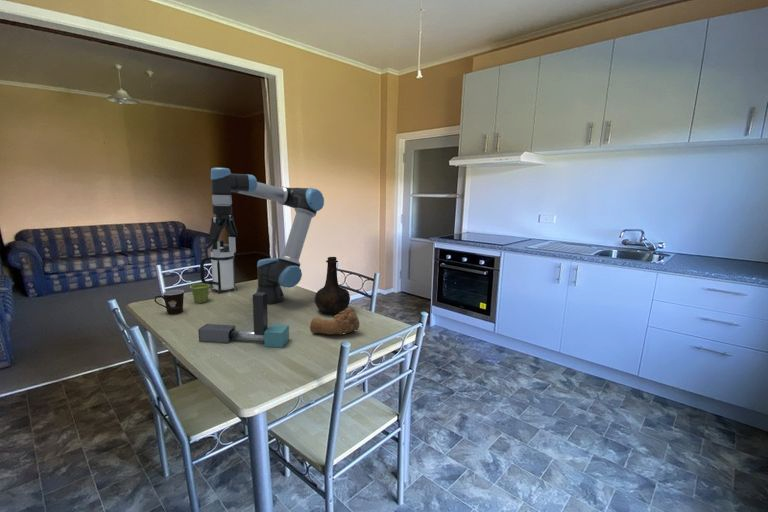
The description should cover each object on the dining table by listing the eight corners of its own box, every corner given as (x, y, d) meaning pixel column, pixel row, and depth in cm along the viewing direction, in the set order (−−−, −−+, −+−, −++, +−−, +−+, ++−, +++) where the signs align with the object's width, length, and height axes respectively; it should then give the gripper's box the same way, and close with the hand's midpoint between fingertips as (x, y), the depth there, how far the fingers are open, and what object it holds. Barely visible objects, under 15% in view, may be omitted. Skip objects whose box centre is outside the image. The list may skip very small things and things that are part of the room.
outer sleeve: (199, 341, 136) (198, 329, 136) (207, 335, 142) (206, 323, 141) (228, 343, 136) (227, 331, 135) (235, 336, 142) (235, 325, 141)
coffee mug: (189, 309, 170) (187, 290, 169) (177, 315, 162) (175, 295, 160) (167, 308, 171) (165, 289, 170) (154, 314, 163) (152, 294, 161)
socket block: (264, 346, 134) (264, 332, 133) (272, 337, 142) (272, 324, 141) (282, 347, 134) (281, 333, 133) (289, 338, 142) (288, 325, 140)
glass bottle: (344, 318, 166) (345, 262, 161) (309, 315, 169) (308, 259, 163) (353, 306, 183) (354, 255, 178) (321, 304, 186) (321, 253, 181)
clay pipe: (349, 349, 142) (364, 327, 154) (347, 329, 137) (362, 307, 149) (311, 339, 149) (328, 319, 161) (307, 320, 144) (325, 300, 156)
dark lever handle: (227, 339, 137) (224, 293, 133) (232, 335, 141) (229, 290, 137) (274, 342, 136) (272, 296, 132) (277, 338, 140) (276, 293, 136)
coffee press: (216, 286, 212) (213, 237, 206) (242, 287, 212) (240, 239, 206) (201, 294, 195) (197, 242, 189) (228, 295, 195) (226, 243, 189)
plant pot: (191, 299, 185) (190, 284, 184) (211, 298, 189) (210, 282, 188) (190, 305, 177) (189, 289, 175) (210, 303, 181) (209, 287, 179)
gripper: (228, 203, 159) (230, 248, 163) (196, 206, 135) (200, 259, 139) (244, 204, 159) (246, 249, 163) (214, 206, 134) (218, 259, 138)
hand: (225, 254), depth 151 cm, fingers open, 13 cm apart
